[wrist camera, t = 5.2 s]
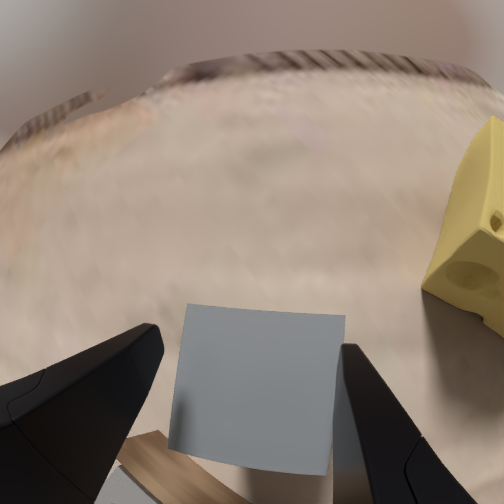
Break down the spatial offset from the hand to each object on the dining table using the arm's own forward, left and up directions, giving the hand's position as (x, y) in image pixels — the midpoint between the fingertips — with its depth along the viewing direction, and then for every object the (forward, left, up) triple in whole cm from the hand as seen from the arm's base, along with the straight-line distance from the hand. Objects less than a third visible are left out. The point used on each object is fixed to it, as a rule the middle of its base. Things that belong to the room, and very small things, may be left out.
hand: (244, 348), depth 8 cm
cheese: (-10, -15, -13) cm, 22 cm away
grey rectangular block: (-1, +1, -13) cm, 13 cm away
